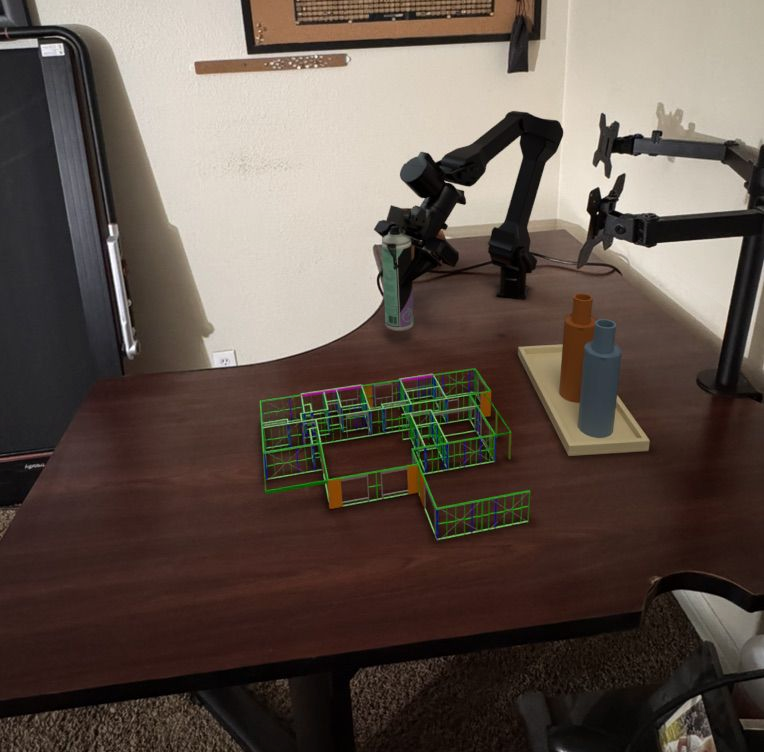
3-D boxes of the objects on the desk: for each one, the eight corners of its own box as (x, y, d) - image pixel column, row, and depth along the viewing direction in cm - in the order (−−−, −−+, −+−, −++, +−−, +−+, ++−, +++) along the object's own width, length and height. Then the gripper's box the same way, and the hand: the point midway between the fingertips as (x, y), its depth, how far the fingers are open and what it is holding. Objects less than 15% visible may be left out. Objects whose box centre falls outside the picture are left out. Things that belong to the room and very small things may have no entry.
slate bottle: (577, 418, 97) (586, 314, 91) (612, 423, 96) (623, 317, 90) (577, 438, 93) (586, 329, 87) (613, 443, 91) (625, 333, 85)
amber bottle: (559, 386, 106) (566, 289, 99) (590, 390, 104) (600, 291, 98) (558, 403, 101) (565, 302, 95) (590, 407, 100) (600, 305, 94)
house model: (473, 390, 106) (473, 365, 104) (554, 516, 79) (556, 485, 77) (262, 423, 99) (259, 397, 98) (272, 573, 72) (268, 541, 70)
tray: (517, 355, 116) (518, 346, 115) (579, 351, 116) (580, 343, 116) (568, 456, 89) (569, 445, 89) (648, 451, 90) (650, 440, 89)
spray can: (415, 329, 119) (412, 229, 112) (386, 331, 119) (381, 232, 112) (412, 316, 124) (408, 220, 117) (384, 318, 124) (379, 222, 117)
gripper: (379, 179, 121) (336, 247, 119) (447, 197, 107) (400, 275, 105) (410, 209, 129) (371, 274, 126) (478, 230, 115) (435, 303, 112)
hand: (392, 280), depth 117 cm, fingers closed on spray can, 5 cm apart
